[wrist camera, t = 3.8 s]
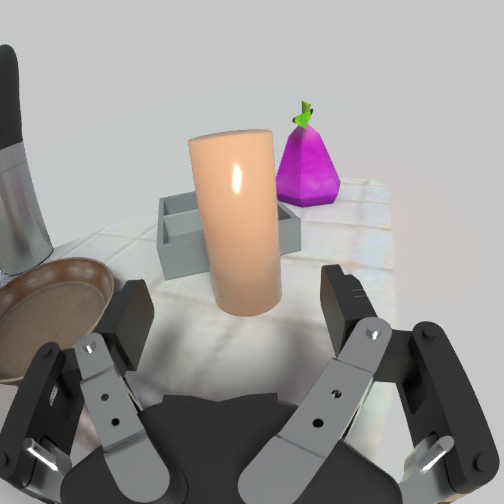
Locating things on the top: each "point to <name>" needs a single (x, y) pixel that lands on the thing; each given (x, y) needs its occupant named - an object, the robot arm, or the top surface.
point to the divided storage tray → (191, 235)
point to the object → (50, 310)
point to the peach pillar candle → (239, 218)
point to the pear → (306, 167)
